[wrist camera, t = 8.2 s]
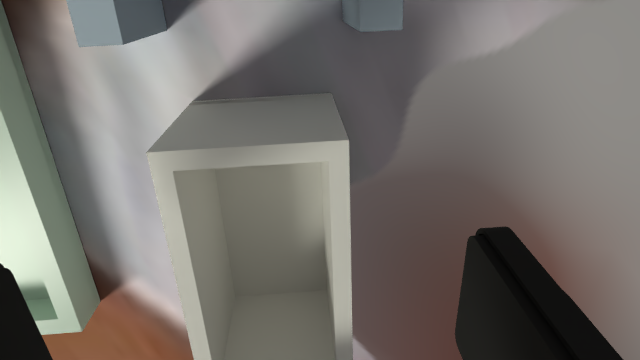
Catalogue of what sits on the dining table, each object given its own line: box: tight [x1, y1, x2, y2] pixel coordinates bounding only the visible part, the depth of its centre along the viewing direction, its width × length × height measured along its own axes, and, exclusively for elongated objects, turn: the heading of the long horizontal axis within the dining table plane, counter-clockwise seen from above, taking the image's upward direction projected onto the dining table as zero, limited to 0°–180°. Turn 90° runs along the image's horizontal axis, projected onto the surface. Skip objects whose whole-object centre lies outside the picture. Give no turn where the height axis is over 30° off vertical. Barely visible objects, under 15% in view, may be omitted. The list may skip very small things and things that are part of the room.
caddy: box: [146, 93, 353, 360], centre depth 15 cm, size 10×6×9 cm, turn 2°
